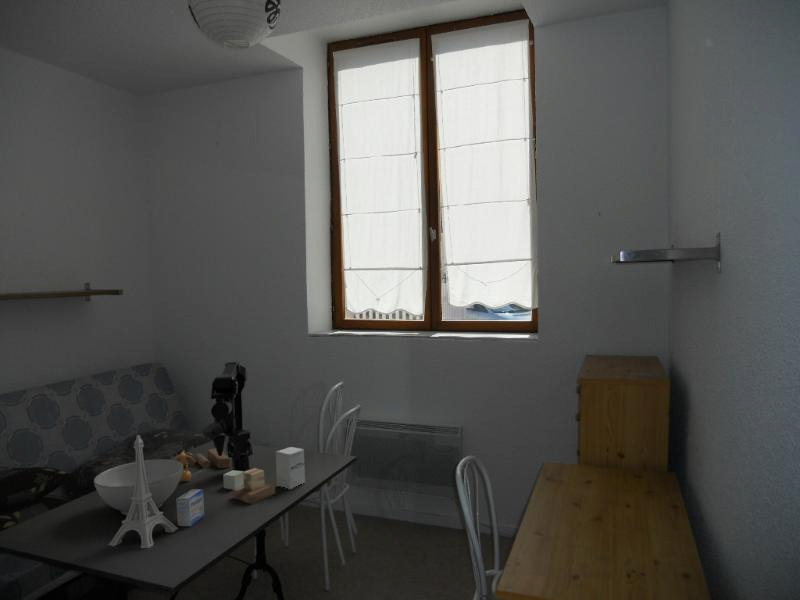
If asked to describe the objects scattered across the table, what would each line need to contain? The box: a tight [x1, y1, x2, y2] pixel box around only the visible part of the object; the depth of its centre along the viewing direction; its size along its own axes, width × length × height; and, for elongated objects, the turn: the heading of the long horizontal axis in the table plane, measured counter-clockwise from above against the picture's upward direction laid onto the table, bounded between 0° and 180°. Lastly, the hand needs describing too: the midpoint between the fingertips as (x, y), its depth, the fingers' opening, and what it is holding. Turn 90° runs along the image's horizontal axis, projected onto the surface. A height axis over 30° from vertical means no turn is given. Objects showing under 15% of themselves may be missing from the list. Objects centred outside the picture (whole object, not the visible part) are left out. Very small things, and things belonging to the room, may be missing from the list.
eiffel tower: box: [108, 434, 179, 548], centre depth 165 cm, size 13×13×30 cm
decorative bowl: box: [93, 458, 184, 516], centre depth 187 cm, size 27×27×12 cm
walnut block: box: [232, 482, 276, 505], centre depth 194 cm, size 10×10×4 cm
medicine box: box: [175, 488, 205, 527], centre depth 175 cm, size 8×4×9 cm, turn 168°
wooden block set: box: [176, 447, 232, 469], centre depth 229 cm, size 17×6×18 cm
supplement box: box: [275, 446, 306, 490], centre depth 203 cm, size 7×7×13 cm
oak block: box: [243, 467, 266, 491], centre depth 194 cm, size 5×5×6 cm
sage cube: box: [222, 469, 244, 490], centre depth 204 cm, size 5×5×5 cm
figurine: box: [172, 450, 196, 483], centre depth 211 cm, size 8×6×12 cm
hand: (228, 457), depth 196 cm, fingers open, 9 cm apart
